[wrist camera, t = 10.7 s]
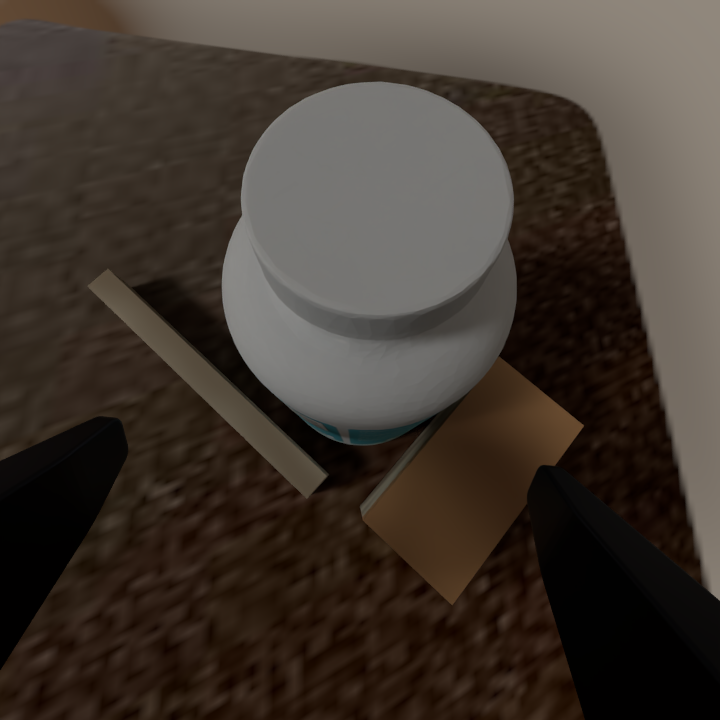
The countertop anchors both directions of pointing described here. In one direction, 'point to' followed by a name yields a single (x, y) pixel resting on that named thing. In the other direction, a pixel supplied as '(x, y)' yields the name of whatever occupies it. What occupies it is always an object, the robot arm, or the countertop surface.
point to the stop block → (468, 477)
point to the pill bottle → (372, 259)
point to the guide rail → (210, 384)
